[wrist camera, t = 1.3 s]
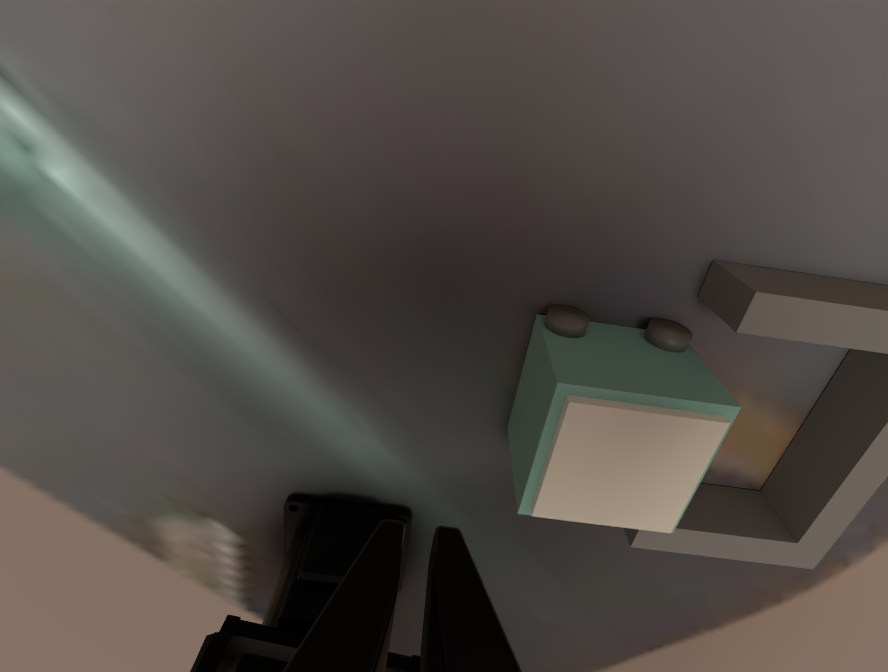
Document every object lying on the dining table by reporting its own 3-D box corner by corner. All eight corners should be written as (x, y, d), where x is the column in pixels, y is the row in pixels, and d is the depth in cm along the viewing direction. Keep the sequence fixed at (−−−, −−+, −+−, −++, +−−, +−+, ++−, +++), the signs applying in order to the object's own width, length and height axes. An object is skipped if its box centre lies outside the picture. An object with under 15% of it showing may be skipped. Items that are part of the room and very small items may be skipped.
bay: (775, 515, 24) (813, 569, 22) (612, 495, 24) (630, 546, 22) (927, 291, 18) (1005, 328, 16) (713, 260, 18) (756, 291, 16)
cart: (628, 453, 23) (671, 552, 18) (504, 437, 23) (515, 533, 18) (685, 320, 20) (756, 399, 15) (539, 299, 19) (564, 374, 15)
